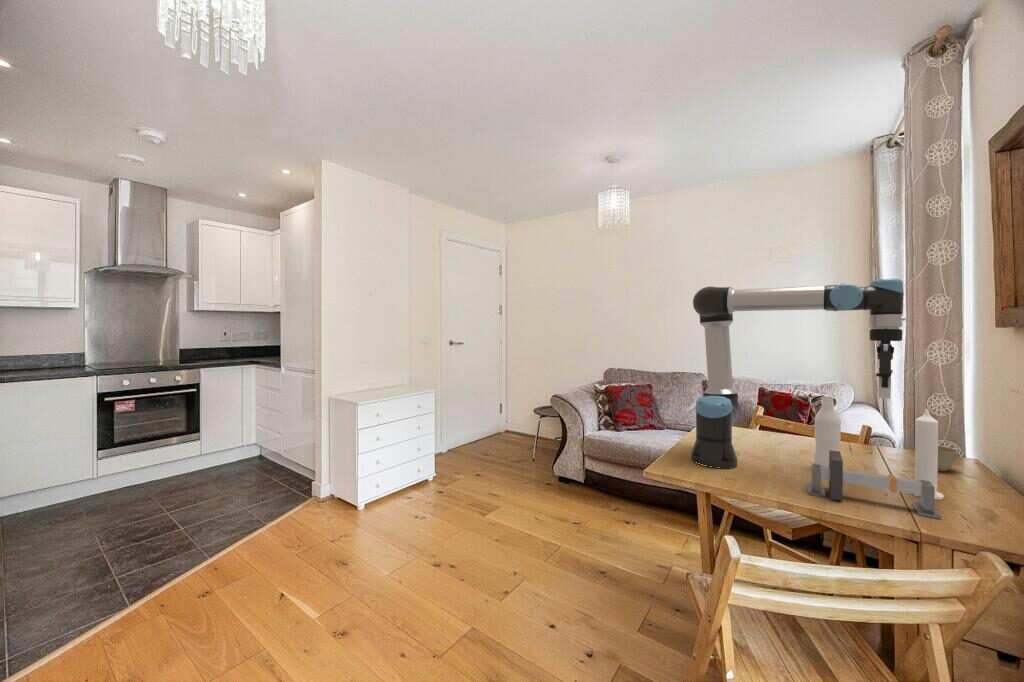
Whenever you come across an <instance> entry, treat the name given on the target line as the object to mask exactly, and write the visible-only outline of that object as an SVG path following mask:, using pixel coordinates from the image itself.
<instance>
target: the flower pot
mask: <svg viewBox="0 0 1024 682" xmlns="http://www.w3.org/2000/svg"><path fill="white" fill-rule="evenodd" d="M958 455H959V451H958V450H957V449H955V448H952V447H949V446H943V445H938V466H937V472H948V470H950V469H951V468H952V466H953V465H954V464H955V462H956V460H957V458H958Z"/></svg>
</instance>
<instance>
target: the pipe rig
mask: <svg viewBox="0 0 1024 682" xmlns="http://www.w3.org/2000/svg"><path fill="white" fill-rule="evenodd" d="M821 480H827V481H829V480H831V467H826V466H820V465H819V464H815V463H811V483H809V482H807V485H806V486H807V495H810V496H815V497H820V498H826V492H825V491H826V489H825V485H822V484H821V482H822V481H821ZM843 483H845V484H850V485H856V486H857V485H858V486H863V487H868V488H869V487H870V488H875V489H881V490H887V491H890V493H896V494H897V493H905V494H910V495H913V494H916V495H919V496H918V501H912V502H911V505H912V506H913V508H914V510H915V509H916V510H915V511H916V514H917V515H918V514H919V515H918V516H920V515H922V516H921V517H925V516H927V517H926V518H931V517H933V518H932V519H936V518H938V519H937V520H942V515H941V514H940V513H939V511H938V510H937V508H936V507H935V499H934V489H935V487H934V486H933V485H932V484H931V482H930V481H925V480H919V481H918V480H915V479H910V478H905V477H899V476H895V475H893V474H888V475H884V474H878V473H872V472H865V471H859V470H851V469H847V468H843ZM916 495H915V496H916Z"/></svg>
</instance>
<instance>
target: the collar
mask: <svg viewBox="0 0 1024 682" xmlns="http://www.w3.org/2000/svg"><path fill="white" fill-rule="evenodd" d="M842 457H843V456H842V454H841V451H840V450H839V451H831V450H829V467H831V480H828V487H829V495H830V499H831V500H835V501H841V502H843V491H844V490H843V488H844V487H843V483H844V482H843V469H844V468H843V467H844V465H843V464H844V462H843V458H842Z"/></svg>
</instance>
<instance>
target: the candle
mask: <svg viewBox="0 0 1024 682" xmlns="http://www.w3.org/2000/svg"><path fill="white" fill-rule="evenodd" d="M914 427H915V429H914V430H915V435H914V436H915V437H914V439H915V442H914V480H918V481H919V480H925V481H930V482H931V484H932V485H933V486H934V487H935V489H934V500H937V501H938V500H943V499H944V496H945V495H944V494H943V493H941V492H938V471H937V466H938V446H939V421H938V420H937V419H935V418H934V417H932V416H931V414H930V411H929V409H928V408H925V410H924V412H923V414H922V415H921V416H919V417H917V418H915V426H914ZM912 495H914V496H916V497H919V495H916V494H912Z"/></svg>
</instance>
